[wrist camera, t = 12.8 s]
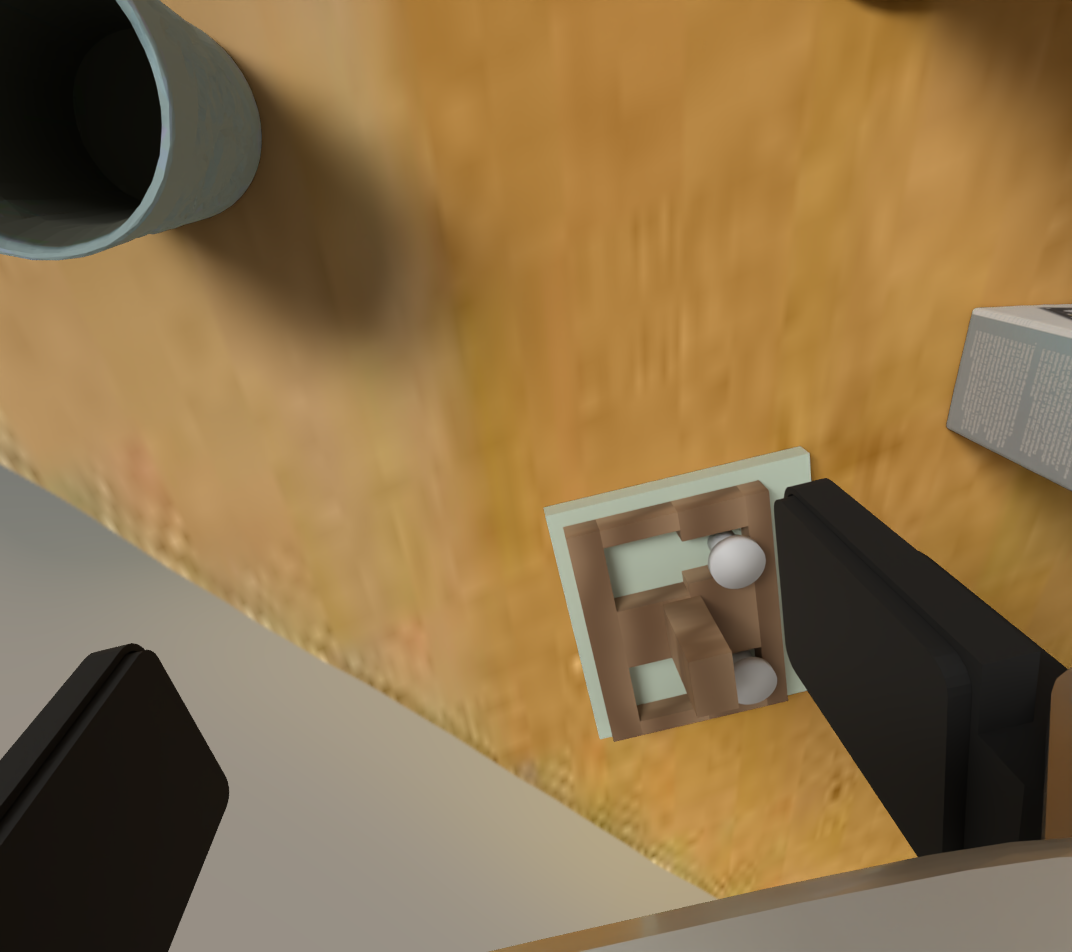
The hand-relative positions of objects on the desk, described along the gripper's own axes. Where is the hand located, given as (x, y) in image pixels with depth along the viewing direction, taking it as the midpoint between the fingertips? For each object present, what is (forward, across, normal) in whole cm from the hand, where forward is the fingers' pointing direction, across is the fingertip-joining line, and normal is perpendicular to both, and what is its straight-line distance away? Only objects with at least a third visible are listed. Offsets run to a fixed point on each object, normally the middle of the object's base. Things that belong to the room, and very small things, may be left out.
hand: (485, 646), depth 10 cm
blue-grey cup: (+28, +12, -12) cm, 33 cm away
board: (+28, -9, +21) cm, 36 cm away
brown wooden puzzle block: (+27, -8, +21) cm, 35 cm away
